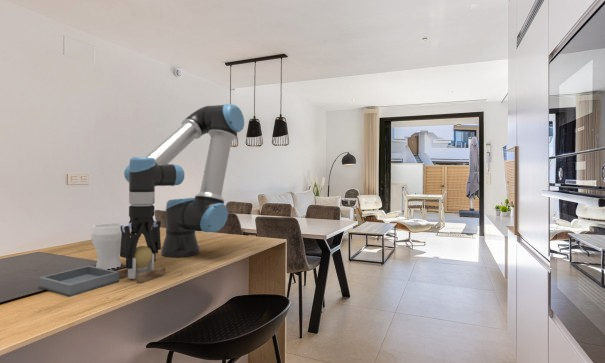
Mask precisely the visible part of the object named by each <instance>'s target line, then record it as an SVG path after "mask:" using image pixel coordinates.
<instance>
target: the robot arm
mask: <svg viewBox="0 0 605 363" xmlns="http://www.w3.org/2000/svg"><path fill="white" fill-rule="evenodd" d="M244 128H245V118H244V114H243V111H242V110H241V108H240V107H238V105H236V104H232V103H231V104H229V103H225V104H216V105H205V106H202V107H200V108H198V109H197V110H195V111H194V112H192V113H190V115H188V116H187V117H186V118H184V120H182V122H181V125H180V127H178V128H177V129H176V130H175V131H174V132H172V133H171V134H170V135H169V136H167V138H166V139H164V140H163V141H162V142H160V144H158V145H157V146H156V147H155V148H154V149H153V150H151V152H149V153H148V154H147V155H146V156H134V157H131V158H130V159H129V164H128V165H127V166H126V167H125V169H124V173H123V175H124V179H125V180H126V182H128V204H130V205H129V206H128V217H129V221H128V223H127V224H125V225H124V226H123V225H122V226H121V227H120V228H121V232H122V236H121V248H120V255H119V257H120V258H123V259H125V268H127V269H128V276H127V279H132V280H136V258H133V257H134V254H135V250H136V247H138V244H139V240H140V238H141V236H142V235H143V236H144V240H145V243H146V247H148V248H150V249H151V251H152V258H151V260H150V262H149V263H148V264H147V267H148V268H147V270H148V271H151V270H154V269H155V263H156V258H157V257H156V254H158V253H159V251H160V253H161V256H163V257H168V258H183V257H191V256H196V255H197V254H200V245H199V244H198V240H197V237H196V236H197V235H196V231H197V232H204V233H216V232H218V231H220V230H221V229H222V228H223V227H224V226H225V225H226V222H227V220H228V216H229V211H228V208H227V206H226V205H225V200H224V198H223V196H222V195H223V194H222V193H223V190H224V184H225V178H226V173H227V169H228V164H229V163H228V162H229V157H230V151H231V146H232V145H231V144H232V142H233V141H234V140H236V139H237V134H238V133H240V132H241V131H242V130H244ZM205 134H208V135H209V136H210V139H209V140H210V141H209V146H208V151H207V155H206V159H205V160H206V161H205V164H204V165H205V166H204V171H203V175H202V181H201V185H200V189H199V190H200V191H199V192H198V193H197V194H195V196H194V197H185V198H176V199H169V200H168V201H166V204H165V205H166V208H165V236H164V240H163V245H162V244H161V242H162V241H161V224H162V222H161V221H160V220H154V217H155V205H154V204H155V202H156V200H155V196H156V195H155V188H156V187H159V186H160V187H166V186H168V187H174V186H178V185H181V184H183V182H184V180H185V171H184V170H185V169H184V168H183V167H182V166H180V165H178V164H173V163H172V164H169V163H171V162H172V161H173V160H175V158H176V157H177V156H178V155H180V154H181V152H182V151H183V150H185V149H186V148H187V147H188V146H189V145H190V144H191V143H192V142H193V141H195V140H196V139H200V138H201V137H202V136H203V135H205ZM148 271H147V272H148Z"/></svg>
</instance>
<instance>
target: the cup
mask: <svg viewBox="0 0 605 363" xmlns="http://www.w3.org/2000/svg"><path fill="white" fill-rule="evenodd" d="M122 225H123V226H125V225H124V223H120V222H110V223H109V222H107V223H99V224H94V225H93V226H92V229H91V230H92V231H91V234H90V237H91V238H90V239H91V242H92V245H93V247H94V249H95V250H96V255H97V260H96V265H95V267H98V268H103V269H110V270H112V269H111V268H115V269H118V268H117V267H119V268H120V267H121V266H122V265H121V264H122V263H121V257H120V248H121V236H122V232H121V228H120V227H121V226H122Z"/></svg>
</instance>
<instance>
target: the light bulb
mask: <svg viewBox="0 0 605 363" xmlns="http://www.w3.org/2000/svg"><path fill="white" fill-rule="evenodd" d="M133 258H136V275H138V274H141V273H144V272H147V271H148V270H147V268H148V267H147V264H148V263H149V262H150V260H151V258H152V251H151V249H150V248H148V247H147V245H139V246H137V247H136V250H135V254H134V257H133Z"/></svg>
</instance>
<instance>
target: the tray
mask: <svg viewBox="0 0 605 363" xmlns="http://www.w3.org/2000/svg"><path fill="white" fill-rule="evenodd" d="M119 281H120V279H119V272H117V270H113V269H110V270H107V269H103V268H98V267H96V266H92V265H86V266H82V267H78V268H73V269H69V270H65V271H62V272H61V271H60V272H58V273H53V274H48V275H44V276H39V277H38V288H39V289H42V288H43V290H45V289H46V291H49V292H53V293H56V294H60V295H64V296H67V297H73V296H77V295H81V294H83V293H86V292H89V291H92V290H95V289H99V288H103V287H105V286H108V285H112V284H115V283H118V282H119Z"/></svg>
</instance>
